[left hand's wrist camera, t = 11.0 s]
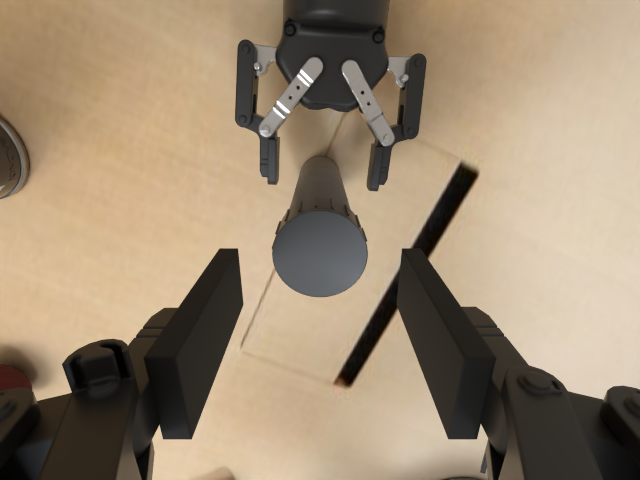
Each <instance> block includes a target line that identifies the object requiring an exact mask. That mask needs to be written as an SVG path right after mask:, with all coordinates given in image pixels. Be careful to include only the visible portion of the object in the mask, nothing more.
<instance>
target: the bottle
mask: <svg viewBox="0 0 640 480" xmlns="http://www.w3.org/2000/svg"><path fill="white" fill-rule="evenodd" d="M315 197H317V198H329V199H331V198H333V200H336V201H338V202H340V203H342V204H344V205H345V204H346V205H347V207H348V208H349V209H350V206H349V203H348V199H347V196H346V193H345V189H344V186H343V182H342V179H341V175H340V172H339V169H338V167H337V165H336V164H335V162H334V161H332V160H331V159H329V158H327V157H324V156H316V157H313V158H311V159H309V160H308V161H306V162H305V164H304V165H303V167H302V169H301V172H300V175H299V179H298V182H297V186H296V189H295V192H294V196H293V199H292V203H291V206H290V209H291V208H292V207H293V206H295V205H296V204H298V203H300V201H301V200H302V201H304V200H307V199H311V198H315Z"/></svg>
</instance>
